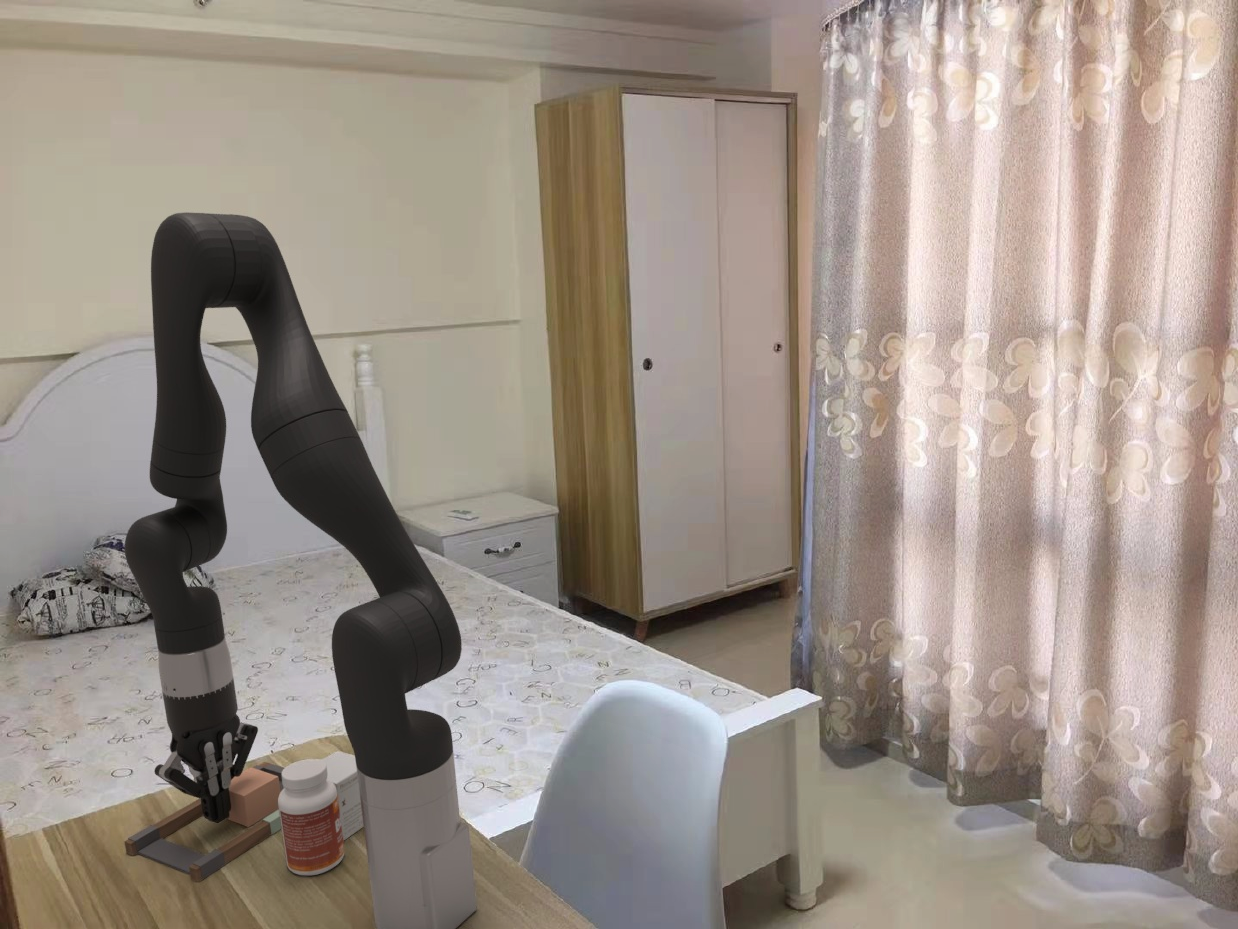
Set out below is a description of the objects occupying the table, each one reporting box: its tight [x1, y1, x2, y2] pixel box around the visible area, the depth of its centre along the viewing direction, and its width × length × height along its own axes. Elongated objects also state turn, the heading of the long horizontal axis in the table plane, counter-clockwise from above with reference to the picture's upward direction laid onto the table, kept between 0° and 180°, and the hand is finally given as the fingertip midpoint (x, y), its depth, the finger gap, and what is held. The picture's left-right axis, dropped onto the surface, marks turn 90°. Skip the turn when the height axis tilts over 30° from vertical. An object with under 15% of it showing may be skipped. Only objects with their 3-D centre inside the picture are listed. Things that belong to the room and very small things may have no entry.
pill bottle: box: [278, 758, 345, 876], centre depth 114 cm, size 6×6×11 cm
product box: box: [320, 750, 364, 841], centre depth 122 cm, size 6×6×7 cm
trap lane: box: [124, 761, 285, 883], centre depth 124 cm, size 12×20×2 cm, turn 149°
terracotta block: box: [226, 766, 281, 828], centre depth 126 cm, size 5×5×4 cm
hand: (218, 819), depth 122 cm, fingers closed
